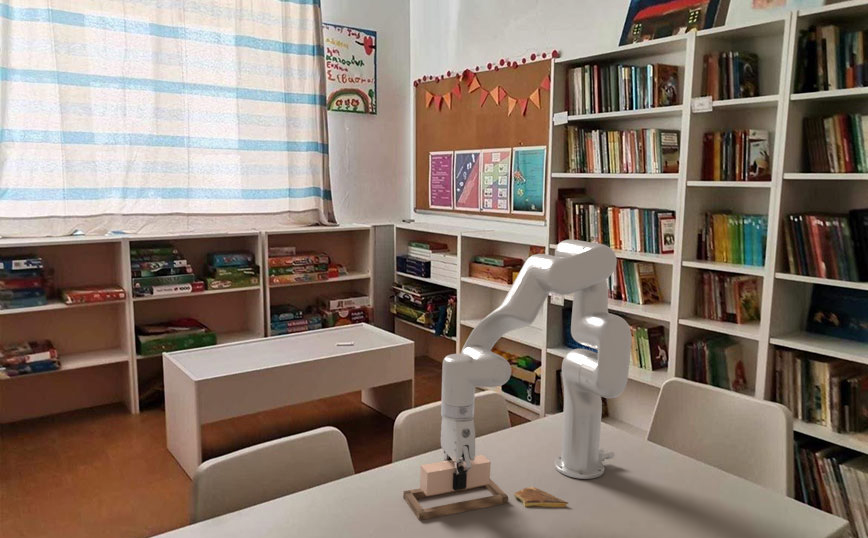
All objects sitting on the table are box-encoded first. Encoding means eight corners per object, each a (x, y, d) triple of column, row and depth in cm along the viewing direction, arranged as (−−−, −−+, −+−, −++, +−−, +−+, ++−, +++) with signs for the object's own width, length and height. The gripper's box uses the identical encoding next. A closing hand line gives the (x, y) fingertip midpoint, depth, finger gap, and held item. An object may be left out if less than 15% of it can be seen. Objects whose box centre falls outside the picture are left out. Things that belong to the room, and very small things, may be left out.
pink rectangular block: (481, 476, 154) (482, 454, 153) (489, 484, 150) (490, 461, 149) (420, 487, 147) (420, 465, 146) (426, 495, 144) (427, 472, 143)
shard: (568, 508, 147) (568, 501, 147) (547, 520, 142) (548, 512, 142) (531, 491, 155) (531, 484, 155) (510, 501, 150) (510, 494, 150)
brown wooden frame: (487, 482, 158) (487, 476, 158) (507, 502, 148) (508, 496, 148) (403, 497, 150) (403, 491, 150) (419, 520, 140) (419, 513, 140)
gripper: (488, 420, 140) (485, 498, 142) (457, 395, 155) (455, 466, 158) (457, 424, 137) (454, 504, 139) (428, 398, 152) (427, 470, 155)
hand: (455, 483), depth 148 cm, fingers closed on pink rectangular block, 4 cm apart
